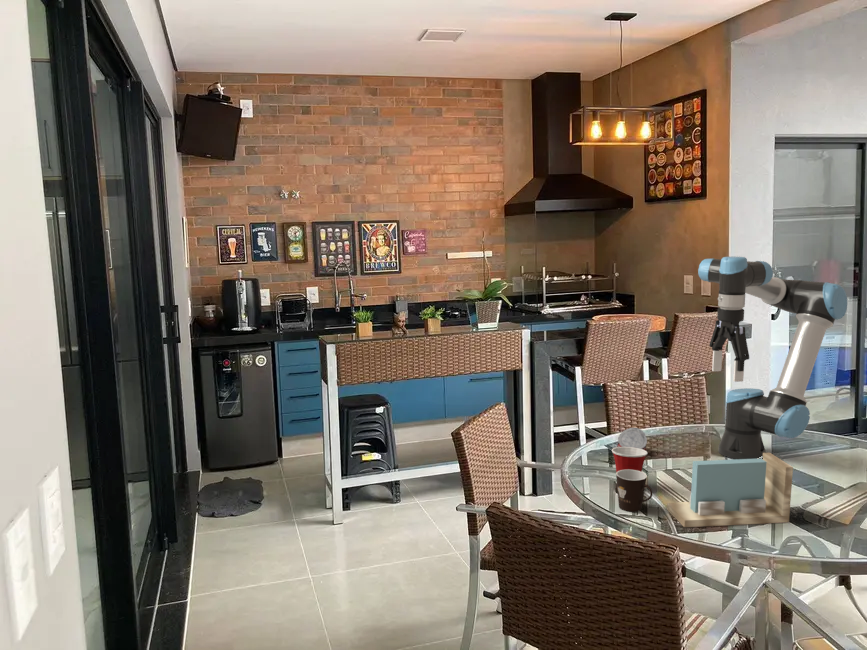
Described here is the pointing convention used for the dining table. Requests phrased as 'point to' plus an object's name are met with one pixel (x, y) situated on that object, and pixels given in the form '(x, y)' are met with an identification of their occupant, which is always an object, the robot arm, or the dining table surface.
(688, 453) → the dining table surface
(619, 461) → the plastic cup
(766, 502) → the hinge base
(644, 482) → the coffee mug
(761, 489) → the door
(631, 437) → the canned food
